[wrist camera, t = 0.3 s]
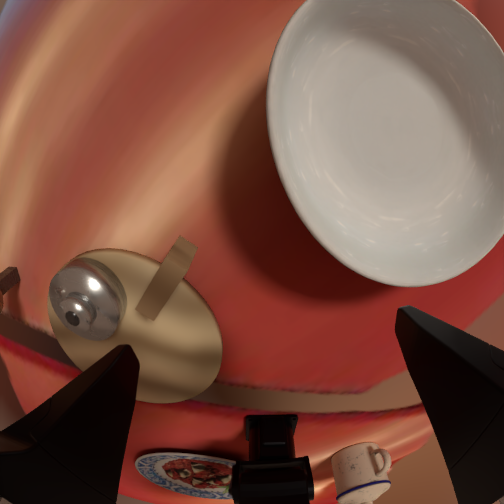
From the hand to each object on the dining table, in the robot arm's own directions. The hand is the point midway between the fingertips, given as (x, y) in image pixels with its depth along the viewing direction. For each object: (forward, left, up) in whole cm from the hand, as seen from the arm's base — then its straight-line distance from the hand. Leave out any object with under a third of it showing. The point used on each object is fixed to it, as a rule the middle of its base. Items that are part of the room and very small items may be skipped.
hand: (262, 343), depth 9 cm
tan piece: (-12, +12, -14) cm, 22 cm away
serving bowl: (+8, -11, -15) cm, 20 cm away
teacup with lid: (-39, -19, -14) cm, 46 cm away
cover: (-7, +14, -13) cm, 20 cm away
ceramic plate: (-48, +8, -15) cm, 51 cm away
